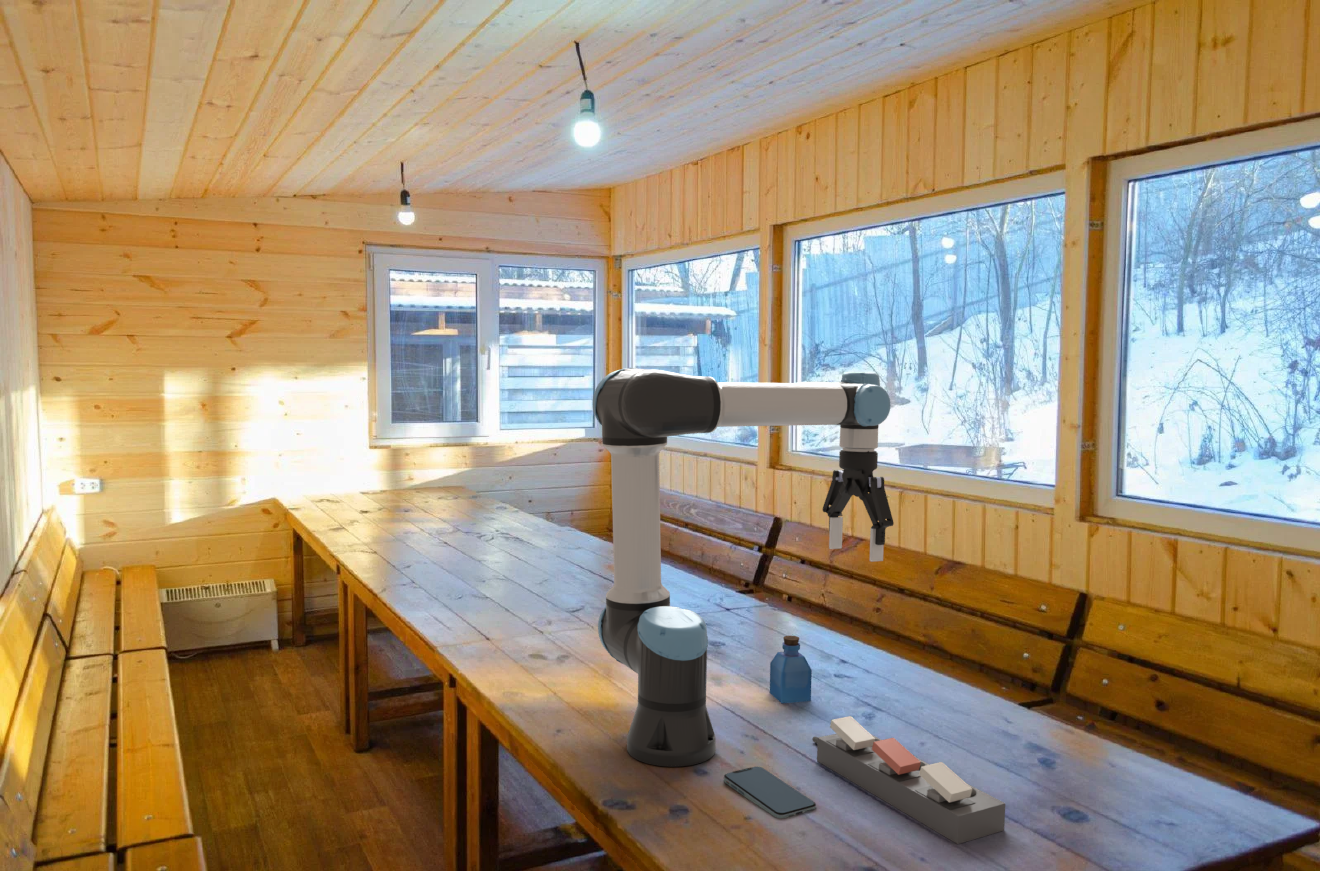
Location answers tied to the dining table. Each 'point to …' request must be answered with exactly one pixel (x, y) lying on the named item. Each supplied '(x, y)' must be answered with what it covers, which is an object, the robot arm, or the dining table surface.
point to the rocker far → (852, 732)
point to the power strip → (913, 792)
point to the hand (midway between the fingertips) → (855, 554)
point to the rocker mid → (896, 756)
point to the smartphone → (769, 792)
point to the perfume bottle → (790, 673)
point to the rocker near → (945, 782)
